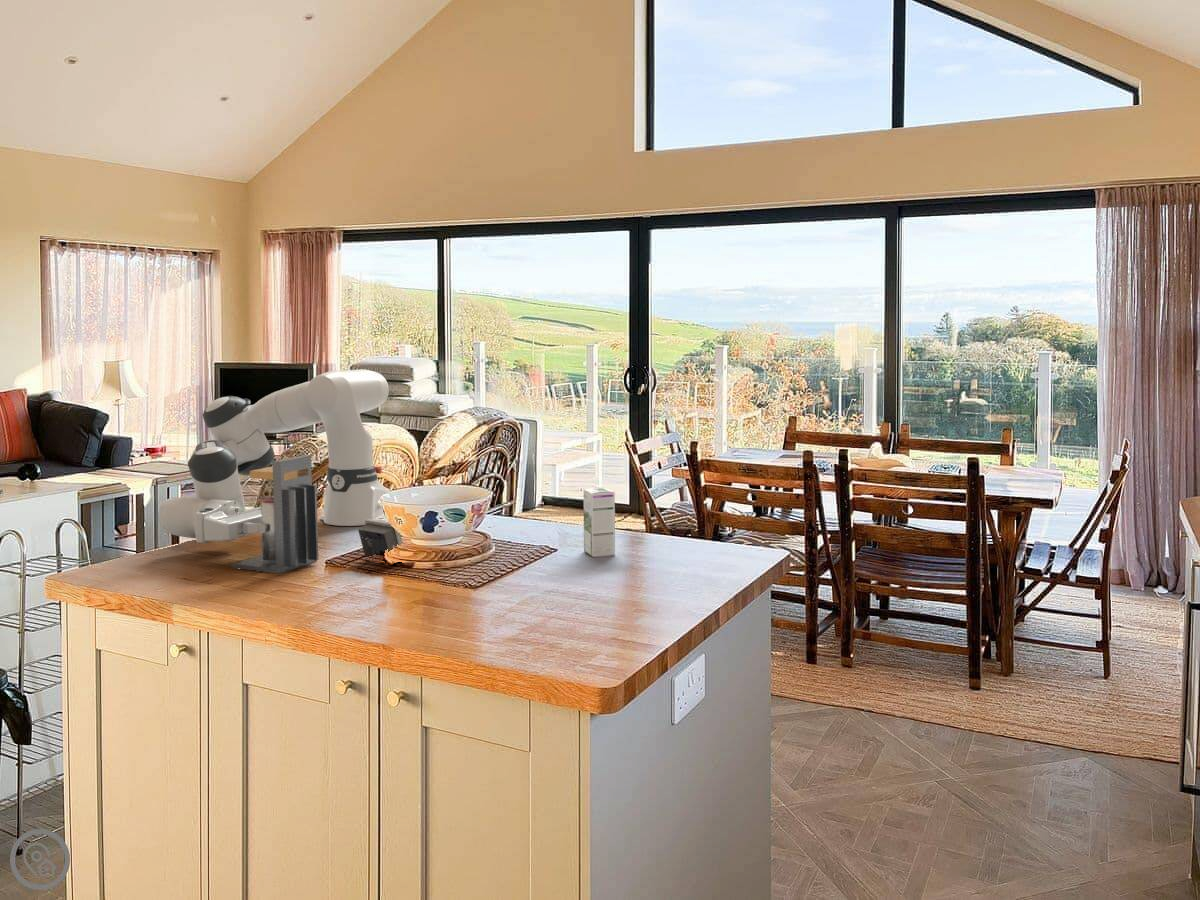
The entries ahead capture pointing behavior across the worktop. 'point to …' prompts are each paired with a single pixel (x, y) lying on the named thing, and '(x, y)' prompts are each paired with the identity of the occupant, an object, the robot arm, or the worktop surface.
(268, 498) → the can
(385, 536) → the electrical switch
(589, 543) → the syrup box
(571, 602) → the worktop surface
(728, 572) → the worktop surface
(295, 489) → the bracket
